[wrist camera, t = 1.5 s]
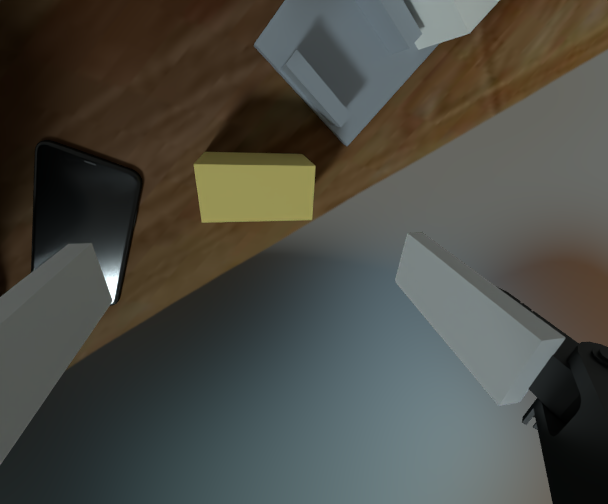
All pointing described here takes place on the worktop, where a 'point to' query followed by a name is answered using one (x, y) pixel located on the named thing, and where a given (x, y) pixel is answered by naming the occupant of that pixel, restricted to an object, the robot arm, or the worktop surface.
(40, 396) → the robot arm
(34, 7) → the worktop surface
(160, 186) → the worktop surface
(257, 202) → the butter stick brick
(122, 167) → the smartphone
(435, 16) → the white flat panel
